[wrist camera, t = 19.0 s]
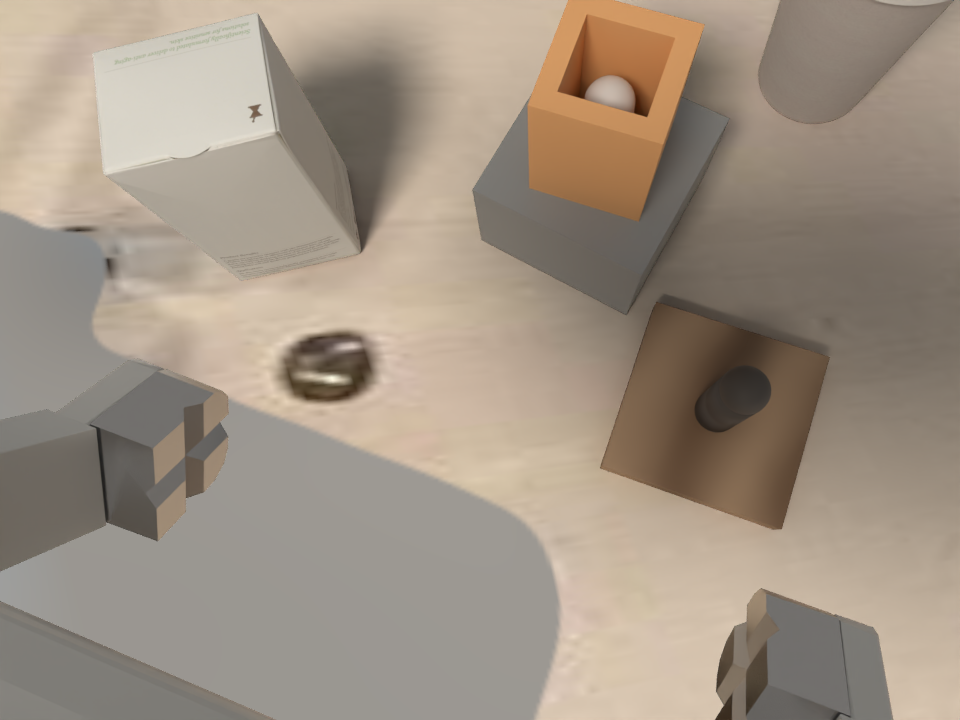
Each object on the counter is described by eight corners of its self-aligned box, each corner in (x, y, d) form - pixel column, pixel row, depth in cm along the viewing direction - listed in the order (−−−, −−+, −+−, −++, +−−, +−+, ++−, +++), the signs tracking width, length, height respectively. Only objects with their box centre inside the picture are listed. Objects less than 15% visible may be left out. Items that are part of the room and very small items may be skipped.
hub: (702, 178, 48) (762, 45, 35) (626, 314, 46) (660, 227, 33) (559, 111, 50) (567, -40, 37) (481, 239, 48) (461, 129, 35)
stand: (820, 363, 45) (886, 321, 36) (773, 529, 43) (831, 526, 34) (652, 309, 46) (678, 257, 38) (600, 468, 44) (614, 450, 36)
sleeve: (673, 122, 41) (704, 24, 34) (638, 221, 40) (663, 144, 32) (566, 91, 42) (572, -11, 34) (529, 188, 41) (527, 104, 33)
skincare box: (348, 167, 50) (267, 3, 35) (365, 261, 48) (287, 133, 33) (222, 194, 50) (86, 43, 35) (234, 289, 48) (97, 174, 33)
